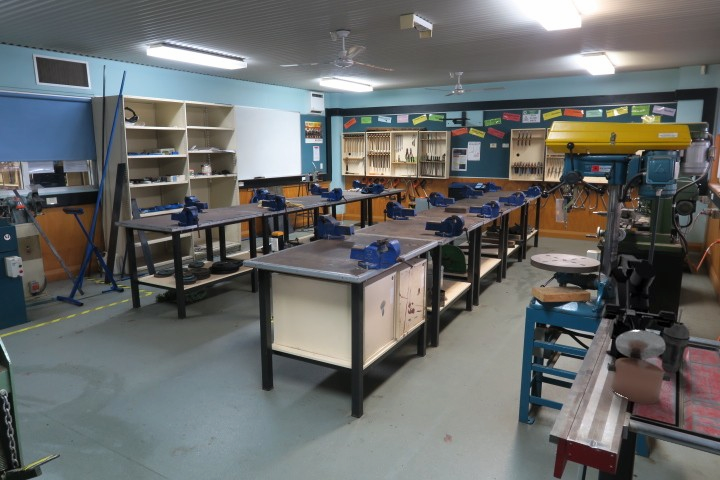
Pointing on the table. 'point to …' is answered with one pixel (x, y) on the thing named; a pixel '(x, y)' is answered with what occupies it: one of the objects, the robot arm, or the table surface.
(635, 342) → the cooker lid
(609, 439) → the table surface
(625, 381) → the cooker pot
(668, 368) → the beverage cup
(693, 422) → the table surface
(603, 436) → the table surface
